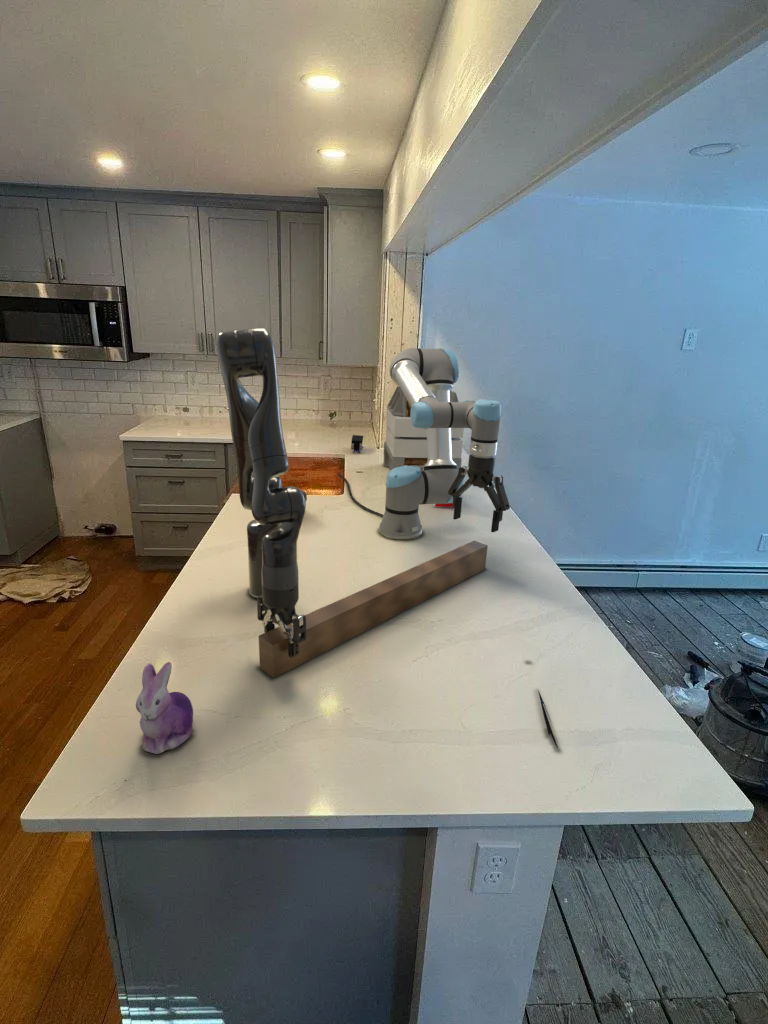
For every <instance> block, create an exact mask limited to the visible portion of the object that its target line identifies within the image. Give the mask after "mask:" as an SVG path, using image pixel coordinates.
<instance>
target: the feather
mask: <svg viewBox="0 0 768 1024" xmlns="http://www.w3.org/2000/svg"><path fill="white" fill-rule="evenodd" d="M528 662H530V660H528ZM537 691H538V697H539V700H540V705H541V710H542V714H543V719H544V722H545V726H546V730H547V734H548V736H551V738H552V740H553V742H554V745H555V747H556V748H557V749H559V748H558V745H557V742H556V741H557V740H556V738H557V736H558V735H554V733H556V732H555V731H556V730H553V728H552V725H554V724H553V720H552V718H551V717H550V714H549V712H548V709H547V707H546V704H545V702H544V700H543V698H542V696H541V693H540V691H539V689H537ZM549 720H550V721H549ZM555 737H556V738H555ZM557 739H560V738H559V736H558V738H557ZM550 743H551V741H550Z"/></svg>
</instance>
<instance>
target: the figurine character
mask: <svg viewBox="0 0 768 1024" xmlns="http://www.w3.org/2000/svg"><path fill="white" fill-rule="evenodd" d="M363 441H364V435H360V434H359V435H357V434H352V435H351V443H350V450H351V451H352V450H353V451H352V453H355V452H358V454H360V453H361V451H362V450H363V448H364V446H363V443H364V442H363Z"/></svg>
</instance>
